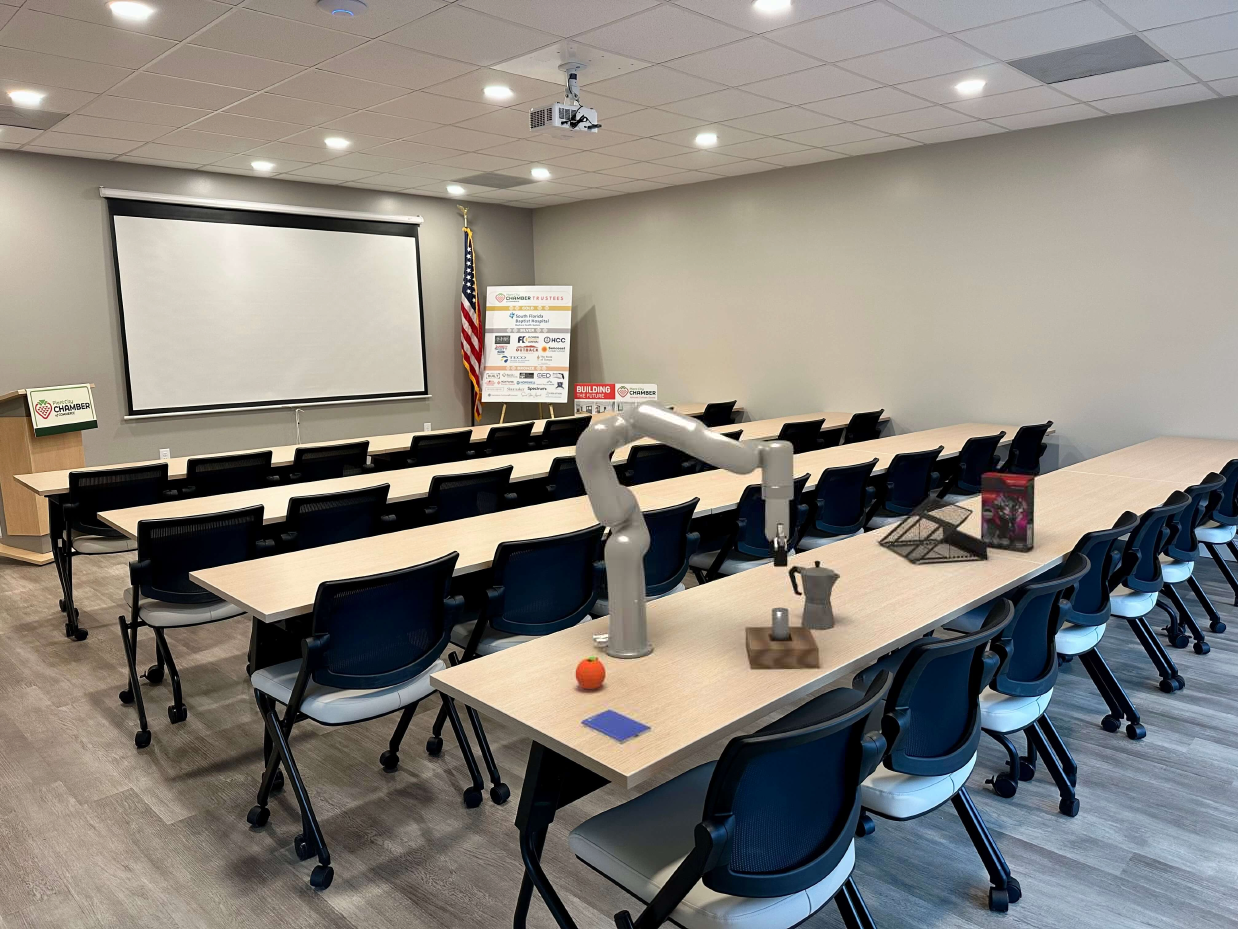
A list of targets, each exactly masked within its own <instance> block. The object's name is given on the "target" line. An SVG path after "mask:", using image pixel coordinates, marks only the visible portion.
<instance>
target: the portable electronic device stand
mask: <svg viewBox="0 0 1238 929" xmlns="http://www.w3.org/2000/svg"><path fill="white" fill-rule="evenodd" d="M973 512H974V511H973V510H972V509H969V508H966V507H964V506H961V505H959V504H955V503H953V502H949V501H947V500H944V499H941V498H938V497H935V496H933V495H931V496H928V497H927V498H926V499H924V501H923V502H922V503H921V504H919V505H918V506H917V507H916V508H915V509H913V510H912V512H910V513H909V514H908V515H907V516H906V517H905V518H904V519H902V521H900V522H899V523H898V524H897V525H896V526H895V527H894V528H893V529H891V530H890V531H889V532H888V533H887V534H886V535H885V536H883V537H882V538H881V539H880V540H879V541H878V540H876V542H877V544H879V545H880V546H882V547H884V548H887V549H888V550H890V551H892V552H894V553H895V554H897V555H899V556H901V557H902V558H904V559H906V560H908V561H909V562H910V563H911V564H913V565H915V564H917V563H918V564H917V565H918V566H921V565H922V566H925V565H939V564H941V565H942V564H955V563H956V564H957V563H970V562H972V563H973V562H984V561H986V562H988V561H989V560H988V557H989V556H988V547H987V543H986V541H984V540H981V538H979V537H976V536H974V535H971V534H970V533H967V532H964V531H962V530H960V529H959V527H961V526H962V525H963V524H964V523H965V522H966V521H967V520H968V519H969V517H970V516H971V515H972V514H973ZM890 543H891V544H890ZM946 544H947V545H948V556H945V555H943V554H942V553H939V552H938V551H935V550H936V548H937V547H938V546H939V545H946ZM951 547H953V548H955V549H958V550H959V551H962V552H964V553H966V555H951ZM919 549H920V550H919ZM932 552H934V553H935V554H938V555H940V556H931V557H929V556H928V555H929V554H930V553H932ZM927 556H928V557H927ZM951 559H952V560H951ZM953 559H954V560H953ZM921 561H923V562H921Z"/></svg>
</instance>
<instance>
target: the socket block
mask: <svg viewBox="0 0 1238 929" xmlns="http://www.w3.org/2000/svg"><path fill="white" fill-rule="evenodd" d="M744 629H745V649H746V654H747V658H748V663H749V668H750V670H803V669H802V668H820V665H819V664H820V663H819V662H820V660H819V659H820V655H819V654H820V653H819V646H818V645H817V642H816V640H815V637H814V636H813V633H812V631H811V629H809V627H804V626H789V641H772V626H758V627H755V626H753V627H752V626H751V627H746V626H745V628H744Z"/></svg>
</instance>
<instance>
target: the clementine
mask: <svg viewBox="0 0 1238 929" xmlns="http://www.w3.org/2000/svg"><path fill="white" fill-rule="evenodd" d="M606 673H607V672H606V668H605V666H604V664H603V663H602V662H601V661H600V660H599V658H598V657H597V656H590V657H587V658H584V659H583V660H581V661H579V663H578V664H577V666H576V669H575V675H574V676H575V679H576V681H577V683H578V684H579V685H580V686H581V687H582V688H584V689H587V690H594V689H597V688H599V687H601V685H602V684H603V683H604V682H605V679H606Z"/></svg>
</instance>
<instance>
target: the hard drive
mask: <svg viewBox="0 0 1238 929" xmlns="http://www.w3.org/2000/svg"><path fill="white" fill-rule="evenodd" d="M580 723H581V724H582V725H584V726H586V727H588V728H590V729H592V730H595V731H597V732H599V733H602V734H603V735H605V736H608V737H609V738H611V739H613V740H612V741H614V740H615V741H614V742H616V741H617V742H616V743H618V742H619V743H618V744H619V745H624V744H625V742H626V743H627V741H628V742H630V741H632V740H634V739H636V738H638V737H637V736H639V737H641V736H643V735H645V734H647V733H650V732H652V727H651V726H649V725H646V724H644V723H641V722H639V721H637V720H635V719H632V718H631V717H629V716H626V715H624V714H621V713H619V712H617V711H615V710H612V709H607V710H604V711H602V712H599V713H598V714H595V715H592V716H589V717H588V718H586V719H585V718H584V719H583V720H582V721H581V722H580ZM581 724H580V725H581ZM584 726H583V727H584ZM586 727H585V728H586ZM588 728H587V729H588ZM590 729H589V730H590ZM592 730H591V731H592ZM599 733H598V734H599ZM603 735H602V736H603ZM640 735H641V736H640ZM605 736H604V737H605ZM609 738H608V739H609ZM633 738H634V739H633ZM611 739H610V740H611ZM629 740H630V741H629Z"/></svg>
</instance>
